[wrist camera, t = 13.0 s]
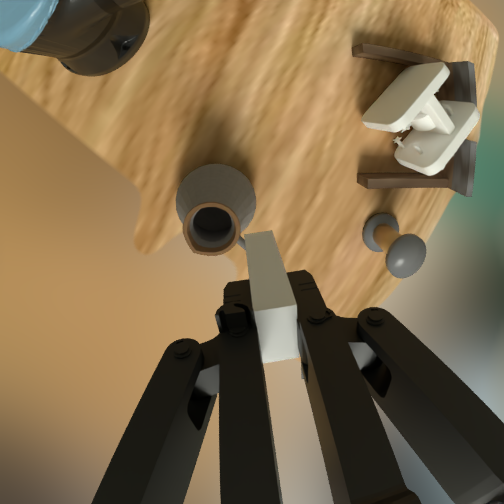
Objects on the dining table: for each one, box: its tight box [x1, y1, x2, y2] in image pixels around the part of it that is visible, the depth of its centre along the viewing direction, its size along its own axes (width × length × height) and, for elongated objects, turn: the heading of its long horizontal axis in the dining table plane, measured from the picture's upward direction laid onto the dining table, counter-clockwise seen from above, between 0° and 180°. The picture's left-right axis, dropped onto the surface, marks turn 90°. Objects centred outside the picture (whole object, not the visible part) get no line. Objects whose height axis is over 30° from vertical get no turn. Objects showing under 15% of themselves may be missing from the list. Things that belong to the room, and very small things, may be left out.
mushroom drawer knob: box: [362, 213, 426, 278], centre depth 43 cm, size 7×7×10 cm
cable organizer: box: [361, 62, 480, 176], centre depth 33 cm, size 15×11×12 cm
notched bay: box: [352, 43, 477, 197], centre depth 35 cm, size 22×18×9 cm
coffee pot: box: [176, 164, 256, 256], centre depth 38 cm, size 21×12×15 cm, turn 51°
